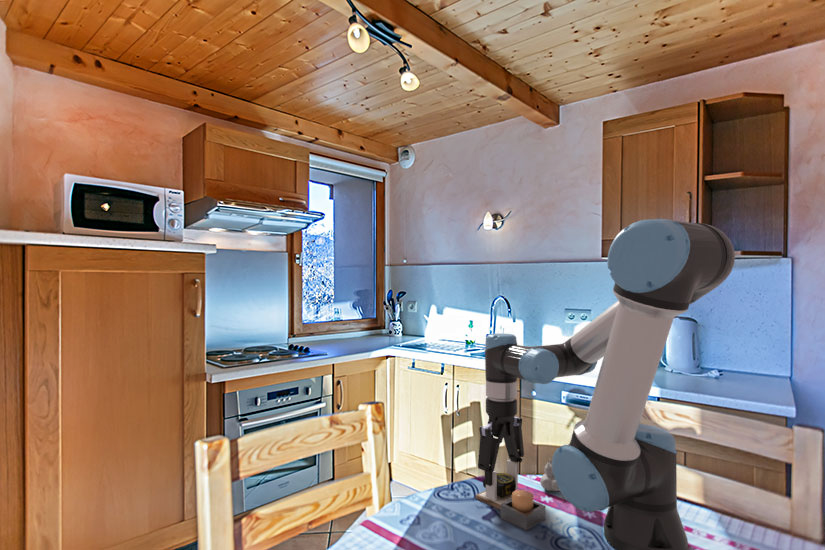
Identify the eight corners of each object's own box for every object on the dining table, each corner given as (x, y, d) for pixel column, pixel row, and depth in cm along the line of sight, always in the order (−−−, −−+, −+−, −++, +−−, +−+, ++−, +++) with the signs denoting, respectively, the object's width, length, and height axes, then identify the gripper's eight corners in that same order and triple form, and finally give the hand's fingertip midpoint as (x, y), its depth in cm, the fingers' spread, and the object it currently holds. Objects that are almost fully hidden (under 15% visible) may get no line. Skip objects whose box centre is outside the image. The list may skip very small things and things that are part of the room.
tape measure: (481, 490, 114) (481, 475, 114) (503, 484, 117) (503, 469, 117) (499, 502, 108) (498, 486, 108) (521, 495, 111) (521, 480, 111)
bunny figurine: (556, 484, 120) (556, 453, 120) (568, 496, 113) (568, 463, 113) (536, 486, 119) (536, 454, 119) (547, 497, 112) (547, 464, 112)
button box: (545, 519, 102) (545, 505, 102) (526, 530, 97) (526, 516, 97) (519, 508, 107) (519, 495, 107) (500, 518, 103) (500, 504, 103)
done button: (537, 508, 102) (537, 495, 102) (525, 515, 99) (525, 501, 99) (520, 501, 106) (520, 488, 106) (507, 507, 103) (507, 494, 103)
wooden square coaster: (528, 499, 111) (528, 496, 111) (505, 512, 105) (505, 508, 105) (499, 487, 118) (499, 483, 118) (475, 498, 112) (475, 494, 112)
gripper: (514, 388, 122) (515, 476, 121) (461, 401, 108) (461, 500, 108) (538, 393, 116) (539, 485, 115) (485, 408, 103) (486, 512, 102)
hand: (502, 492), depth 112 cm, fingers closed on tape measure, 7 cm apart
